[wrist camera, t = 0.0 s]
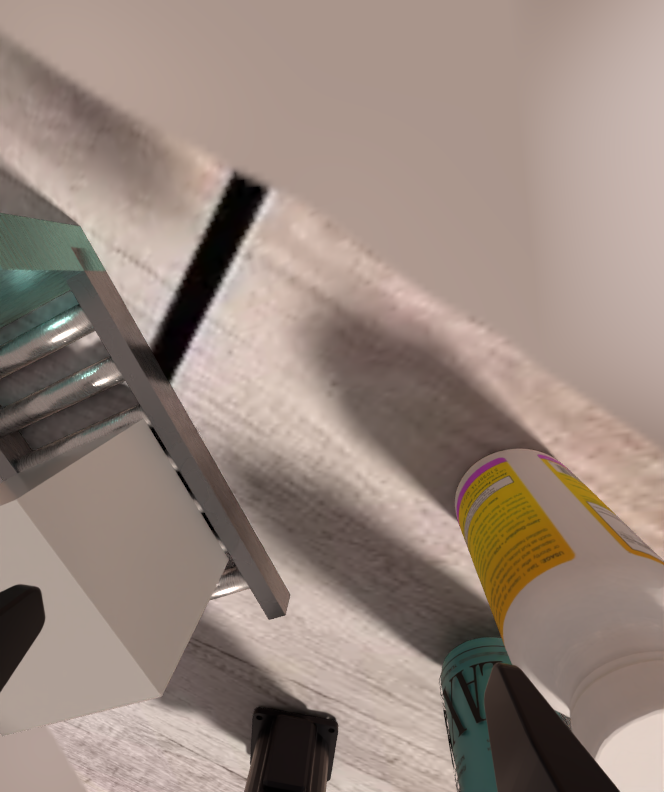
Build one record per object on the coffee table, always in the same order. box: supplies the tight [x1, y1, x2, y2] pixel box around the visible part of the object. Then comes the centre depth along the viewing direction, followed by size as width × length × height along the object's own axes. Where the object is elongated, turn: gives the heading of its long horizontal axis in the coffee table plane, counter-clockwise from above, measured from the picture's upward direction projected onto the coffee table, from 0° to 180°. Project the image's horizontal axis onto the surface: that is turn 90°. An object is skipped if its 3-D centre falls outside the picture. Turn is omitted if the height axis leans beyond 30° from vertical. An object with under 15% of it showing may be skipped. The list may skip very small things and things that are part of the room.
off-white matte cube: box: [0, 418, 229, 736], centre depth 19 cm, size 10×9×8 cm
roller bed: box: [0, 213, 290, 620], centre depth 21 cm, size 12×25×6 cm, turn 24°
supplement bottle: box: [455, 449, 664, 792], centre depth 16 cm, size 7×7×13 cm
